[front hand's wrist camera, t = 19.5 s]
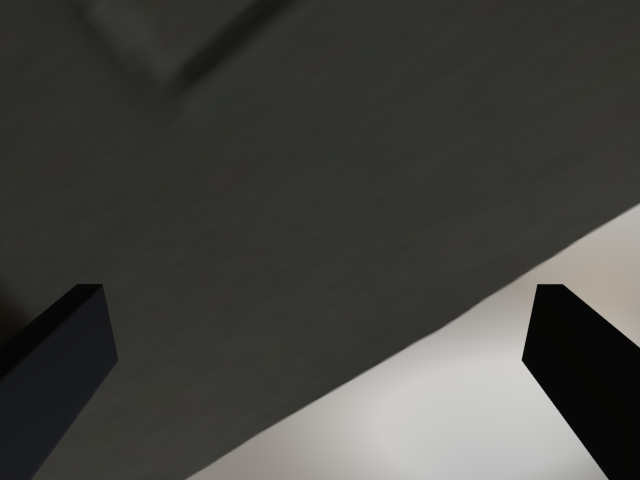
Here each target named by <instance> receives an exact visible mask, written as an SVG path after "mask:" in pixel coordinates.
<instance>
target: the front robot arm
mask: <svg viewBox="0 0 640 480" xmlns="http://www.w3.org/2000/svg"><path fill="white" fill-rule="evenodd" d="M117 361H118V356H117V351H116V346H115V342H114V337H113V332H112V327H111V322H110V318H109V313H108V308H107V303H106V298H105V294H104V289H103V284H77V285H76V286H74V287H73V288H72V289H71V290H70V291H68V292H67V293H66V294H65V295H64V296H62V297H61V298H60V299H59V300H58V301H56V302H55V303H54V304H53V305H51V306H50V307H49V308H48V309H47V310H45V311H44V312H43V313H42V314H41V315H39V316H38V317H37V318H36V319H34V320H33V321H32V322H31V323H30V324H28V325H27V326H26V327H25V328H24V329H22V330H21V331H20V332H19V333H18V334H16V335H15V336H14V337H13V338H11V339H10V340H9V341H8V342H7V343H5V344H4V345H3V346H2V347H1V348H0V480H31V479H32V478H33V477H34V475H35V474H36V472H37V471H38V470H39V468H40V467H41V466H42V464H43V463H44V462H45V460H46V459H47V457H48V456H49V455H50V453H51V452H52V451H53V449H54V448H55V446H56V445H57V444H58V442H59V441H60V440H61V438H62V437H63V435H64V434H65V433H66V431H67V430H68V429H69V427H70V426H71V425H72V423H73V422H74V420H75V419H76V418H77V416H78V415H79V414H80V412H81V411H82V409H83V408H84V407H85V405H86V404H87V403H88V401H89V400H90V398H91V397H92V396H93V394H94V393H95V392H96V390H97V389H98V387H99V386H100V385H101V383H102V382H103V381H104V379H105V378H106V377H107V375H108V374H109V372H110V371H111V370H112V368H113V367H114V366H115V364H116V363H117ZM522 361H523V363H524V364H525V366H526V367H527V368H528V370H529V371H530V372H531V374H532V375H533V377H534V378H535V379H536V381H537V382H538V383H539V385H540V386H541V387H542V389H543V390H544V392H545V393H546V394H547V396H548V397H549V398H550V400H551V401H552V402H553V404H554V405H555V407H556V408H557V409H558V411H559V412H560V413H561V415H562V416H563V418H564V419H565V420H566V422H567V423H568V425H569V426H570V427H571V429H572V430H573V431H574V433H575V434H576V435H577V437H578V438H579V440H580V441H581V442H582V444H583V445H584V446H585V448H586V449H587V450H588V452H589V453H590V455H591V456H592V457H593V459H594V460H595V461H596V463H597V464H598V465H599V467H600V468H601V470H602V471H603V472H604V474H605V475H606V477H607V478H608V479H609V480H640V348H639V347H638V346H637V345H636V344H635V343H633V342H632V341H631V340H630V339H629V338H627V337H626V336H625V335H624V334H622V333H621V332H620V331H619V330H618V329H616V328H615V327H614V326H613V325H612V324H610V323H609V322H608V321H607V320H605V319H604V318H603V317H602V316H601V315H599V314H598V313H597V312H596V311H595V310H593V309H592V308H591V307H590V306H589V305H587V304H586V303H585V302H584V301H582V300H581V299H580V298H579V297H578V296H576V295H575V294H574V293H573V292H572V291H570V290H569V289H568V288H567V287H566V286H564V285H563V284H537V289H536V294H535V298H534V303H533V308H532V313H531V318H530V322H529V327H528V332H527V337H526V342H525V346H524V351H523V356H522Z"/></svg>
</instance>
